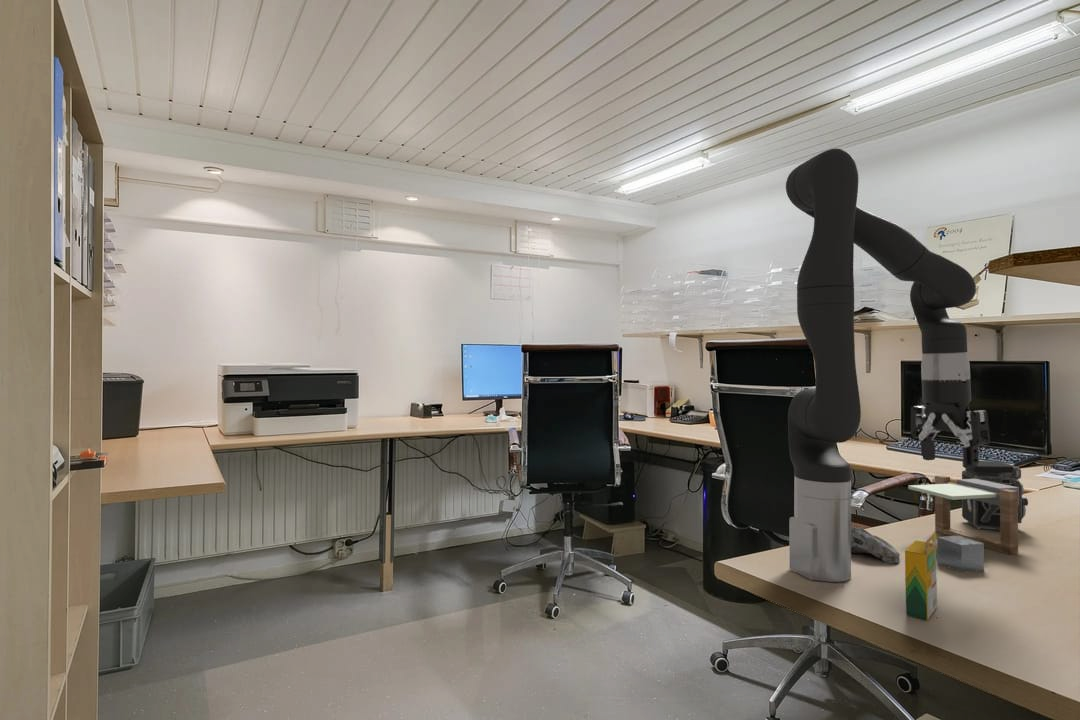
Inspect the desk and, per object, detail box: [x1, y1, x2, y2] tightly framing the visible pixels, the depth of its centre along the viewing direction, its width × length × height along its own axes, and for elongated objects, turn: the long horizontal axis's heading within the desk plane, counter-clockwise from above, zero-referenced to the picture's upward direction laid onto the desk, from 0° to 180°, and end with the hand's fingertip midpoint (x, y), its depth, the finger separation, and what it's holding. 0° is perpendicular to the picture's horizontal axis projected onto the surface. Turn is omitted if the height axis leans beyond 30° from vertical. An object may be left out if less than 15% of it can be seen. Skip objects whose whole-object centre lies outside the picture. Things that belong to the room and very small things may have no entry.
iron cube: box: [936, 535, 985, 573], centre depth 108 cm, size 5×5×5 cm
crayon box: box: [904, 531, 938, 621], centre depth 89 cm, size 7×3×12 cm, turn 136°
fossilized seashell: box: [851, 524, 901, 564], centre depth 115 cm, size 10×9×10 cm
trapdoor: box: [907, 478, 1019, 506], centre depth 123 cm, size 17×13×4 cm
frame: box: [934, 475, 1019, 555], centre depth 124 cm, size 2×17×12 cm, turn 12°
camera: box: [961, 460, 1029, 531], centre depth 135 cm, size 10×10×15 cm
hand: (949, 463), depth 109 cm, fingers open, 8 cm apart
